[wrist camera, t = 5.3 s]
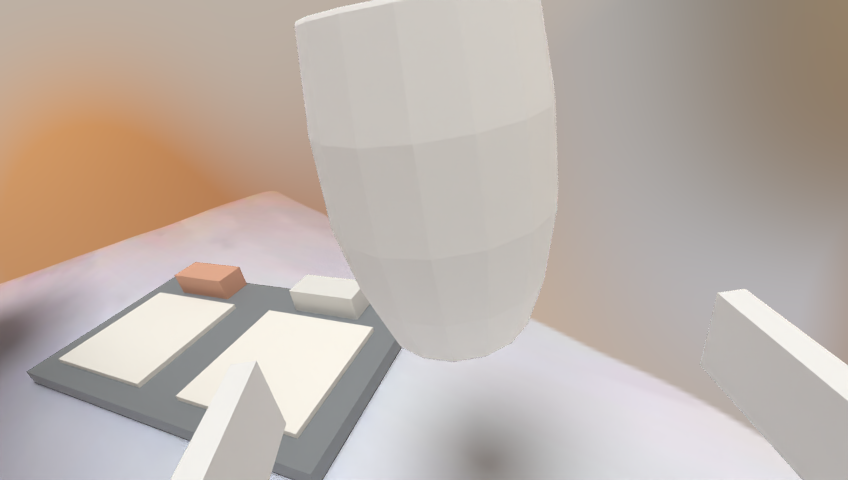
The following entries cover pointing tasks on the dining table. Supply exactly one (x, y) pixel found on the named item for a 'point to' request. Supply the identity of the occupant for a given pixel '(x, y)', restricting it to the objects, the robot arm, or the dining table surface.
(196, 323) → the coaster board
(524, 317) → the cup
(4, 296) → the dining table surface
